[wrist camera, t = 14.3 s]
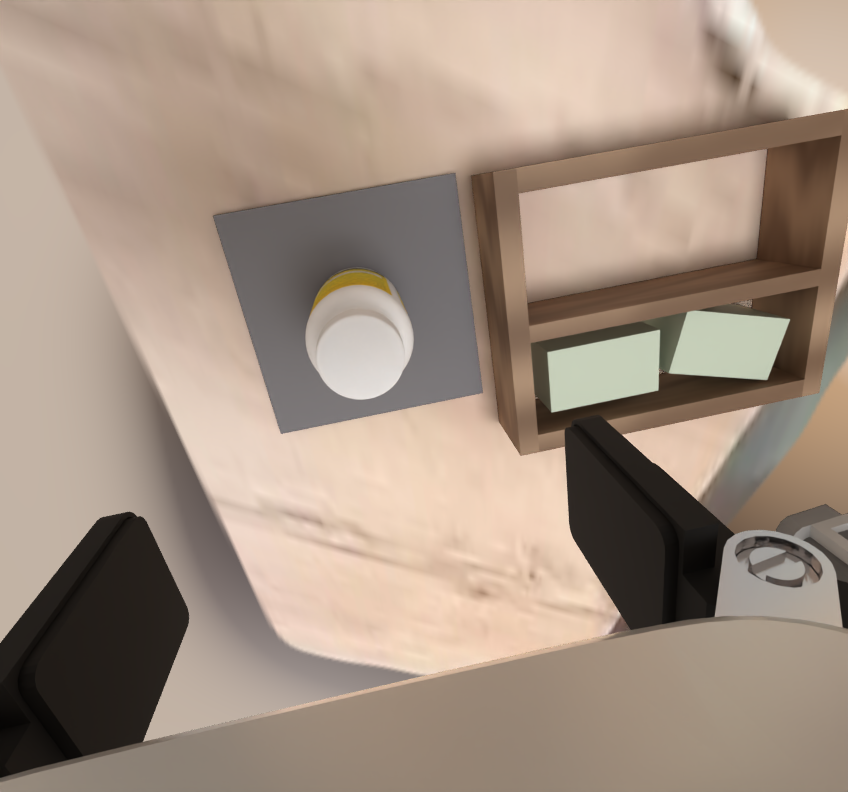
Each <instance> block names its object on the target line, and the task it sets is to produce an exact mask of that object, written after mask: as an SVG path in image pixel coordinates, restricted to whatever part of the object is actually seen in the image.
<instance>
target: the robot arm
mask: <svg viewBox="0 0 848 792" xmlns="http://www.w3.org/2000/svg"><path fill="white" fill-rule="evenodd" d="M564 436H565V454H566V473H567V491H568V509H569V525H570V530H571V534H572V536H573V539H574V540H575V542H576V544H577V545H578V547H579V548H580V550H581V552H582V553H583V555H584V556H585V558H586V560H587V561H588V563H589V564H590V566H591V568H592V569H593V571H594V572H595V574H596V575H597V577H598V579H599V580H600V582H601V583H602V585H603V587H604V588H605V590H606V591H607V593H608V595H609V596H610V598H611V599H612V601H613V602H614V604H615V606H616V607H617V609H618V610H619V612H620V614H621V615H622V617H623V618H624V620H625V622H626V623H627V625H628V626H629V628H630V629H631V630H629V631H624V632H618V633H614V634H609V635H605V636H600V637H596V638H591V639H587V640H582V641H578V642H573V643H568V644H563V645H559V646H554V647H550V648H545V649H541V650H536V651H532V652H528V653H523V654H519V655H514V656H510V657H505V658H501V659H497V660H492V661H488V662H483V663H479V664H475V665H470V666H466V667H461V668H457V669H453V670H448V671H444V672H439V673H435V674H430V675H426V676H422V677H417V678H413V679H409V680H404V681H400V682H396V683H392V684H388V685H383V686H378V687H374V688H370V689H366V690H362V691H357V692H353V693H348V694H344V695H340V696H335V697H331V698H327V699H323V700H319V701H314V702H310V703H305V704H302V705H297V706H293V707H289V708H284V709H280V710H276V711H272V712H267V713H263V714H259V715H254V716H250V717H246V718H241V719H238V720H233V721H229V722H225V723H221V724H217V725H212V726H208V727H204V728H200V729H196V730H191V731H187V732H183V733H179V734H175V735H170V736H166V737H162V738H158V739H154V740H150V741H145V742H143V740H144V737H145V735H146V732H147V730H148V727H149V724H150V722H151V719H152V717H153V714H154V712H155V709H156V706H157V704H158V701H159V699H160V696H161V694H162V691H163V688H164V686H165V683H166V681H167V678H168V675H169V673H170V670H171V668H172V665H173V663H174V660H175V658H176V655H177V652H178V650H179V647H180V645H181V642H182V640H183V637H184V634H185V632H186V629H187V627H188V623H189V612H188V608H187V606H186V604H185V602H184V600H183V598H182V595H181V593H180V591H179V589H178V587H177V585H176V583H175V581H174V579H173V577H172V575H171V572H170V571H169V568H168V566H167V564H166V562H165V560H164V558H163V556H162V553H161V551H160V549H159V547H158V545H157V543H156V541H155V539H154V537H153V534H152V532H151V530H150V528H149V526H148V524H147V522H146V521H145V519H144V518H143V517H140V516H139V517H137V516H136V515H135V514H134V513H132V512H126V513H121V514H116V515H112V516H106V517H102V518H100V519H99V520H97V521H96V523H95V524H94V525H93V527H92V528H91V529H90V530H89V532H88V533H87V534H86V536H85V537H84V538H83V539H82V540H81V542H80V543H79V544H78V546H77V547H76V548H75V549H74V551H73V552H72V553H71V555H70V556H69V557H68V558H67V559H66V561H65V562H64V563H63V565H62V566H61V567H60V568H59V570H58V571H57V572H56V574H55V575H54V576H53V577H52V578H51V580H50V581H49V582H48V584H47V585H46V586H45V587H44V589H43V590H42V591H41V592H40V594H39V595H38V596H37V598H36V599H35V600H34V601H33V602H32V604H31V605H30V606H29V608H28V609H27V610H26V611H25V613H24V614H23V615H22V617H21V618H20V619H19V620H18V621H17V623H16V624H15V625H14V626H13V628H12V629H11V630H10V632H9V633H8V634H7V635H6V637H5V638H4V639H3V640H2V642H1V643H0V792H848V582H844V581H840V580H837V577H836V572H835V569H834V567H833V564H832V562H831V561H830V560H829V559H828V558H827V557H826V556H825V555H824V554H823V552H821V551H820V550H818V549H817V548H815V547H814V546H812V545H811V544H809V543H807V542H805V541H803V540H801V539H798V538H796V537H794V536H791V535H787V534H783V533H780V532H775V531H766V530H750V531H744V532H741V533H738V534H734V533H733V532H732V531H730V530H729V529H728V528H727V527H726V526H725V525H724V524H723V523H722V522H720V521H719V520H718V519H717V518H716V517H715V516H714V515H713V514H712V513H710V512H709V511H708V510H707V509H706V508H705V507H704V506H703V505H702V504H700V503H699V502H698V501H697V500H696V499H695V498H694V497H693V496H692V495H690V494H689V493H688V492H687V491H686V490H685V489H684V488H683V487H682V486H680V485H679V484H678V483H677V482H676V481H675V480H674V479H673V478H672V477H670V476H669V475H668V474H667V473H666V472H665V471H664V470H663V469H662V468H660V467H659V466H658V465H656V464H655V463H652V462H651V461H650V460H649V459H648V458H647V457H645V456H644V455H643V454H642V453H641V452H640V451H639V450H638V449H637V448H636V447H634V446H633V445H632V444H631V443H630V442H629V441H628V440H627V439H626V438H625V437H623V436H622V435H621V434H620V433H619V432H618V431H617V430H616V429H615V428H614V427H612V426H611V425H610V424H609V423H608V422H607V421H606V420H605V419H604V418H603V417H601V416H600V415H593V416H589V417H584V418H579V419H574V420H573V421H572V424H571V427H567V428H566V429H565V433H564Z"/></svg>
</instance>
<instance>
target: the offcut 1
mask: <svg viewBox="0 0 848 792" xmlns="http://www.w3.org/2000/svg"><path fill="white" fill-rule="evenodd" d="M659 350H660V330H659V329H657V328H655V327H653V326H650V325H648V324H646V323H644V322H641V321H639V322H634V323H629V324H624V325H619V326H614V327H609V328H604V329H599V330H594V331H589V332H584V333H579V334H574V335H569V336H564V337H559V338H554V339H549V340H543V341H538V342H533V343H531V355H532V368H533V380H534V393H535V395H536V396H537V397H538V398H539V399H540V400H541V401H542V403H543V404H544V405H545V406H546V407H547V408H548V409H549V410H550V411H551V412H557V411H562V410H566V409H571V408H576V407H581V406H586V405H591V404H595V403H600V402H605V401H610V400H615V399H620V398H624V397H629V396H634V395H639V394H644V393H648V392H653V391H658V387H659Z"/></svg>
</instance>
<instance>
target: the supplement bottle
mask: <svg viewBox="0 0 848 792" xmlns="http://www.w3.org/2000/svg"><path fill="white" fill-rule="evenodd" d="M305 340H306V348H307V353H308V355H309V358H310V360H311V362H312V364H313V366H314V367H315V369H316V370H317V371H318V372H319V374H320V376H321V378H322V380H323V381H324V382H325V383H326V385H327V386H328V387H329V388H330V389H332V390H333V391H334V392H336V393H337V394H339V395H341V396H344V397H347V398H350V399H357V400H364V399H371V398H375V397H377V396H380V395H382V394H384V393H385V392H387V391H388V390H390V389H391V388H392V387H393V386H394V385H395V384H396V382H397V381H398V380H399V378H400V376H401V374H402V372H403V370H404V368H405V367H406V365H407V363H408V362H409V360H410V357H411V354H412V350H413V343H414V336H413V329H412V325H411V321H410V319H409V316H408V314H407V312H406V309H405V307H404V305H403V302H402V300H401V298H400V296H399V294H398V292H397V290H396V289H395V287H394V286H393V284H392V283H391V282H390V281H389V280H388V279H387V278H386V277H384V276H383V275H381V274H380V273H378V272H376V271H373V270H371V269H367V268H359V267H357V268H349V269H345V270H342V271H339V272H337V273H336V274H334V275H332V276H331V277H330V278H329V279H328V280H327V281H326V282H325V283H324V284H323V285H322V287H321V288H320V290H319V291H318V293H317V296H316V298H315V301H314V304H313V307H312V310H311V313H310V316H309V319H308V322H307V326H306V335H305Z"/></svg>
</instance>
